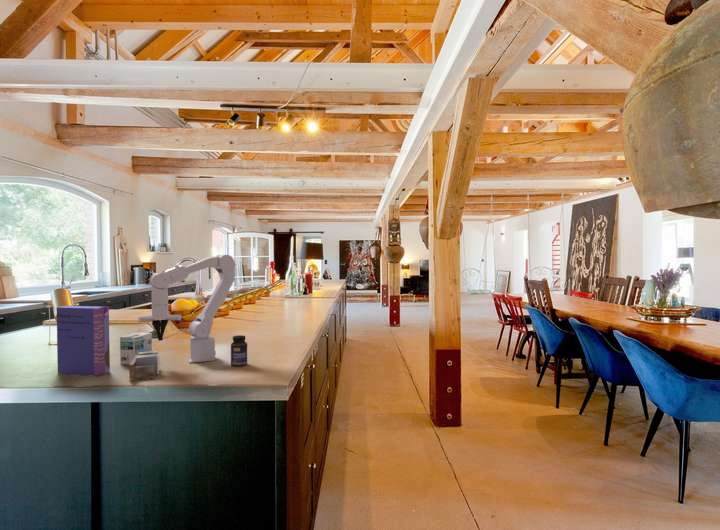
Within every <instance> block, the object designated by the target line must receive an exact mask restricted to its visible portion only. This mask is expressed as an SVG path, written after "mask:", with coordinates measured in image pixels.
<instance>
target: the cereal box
mask: <svg viewBox="0 0 720 530" xmlns="http://www.w3.org/2000/svg"><path fill="white" fill-rule="evenodd" d="M109 309H110V306H97V305H94V306H91V305H85V306H84V305H61V306H57V307H56V347H57V348H56V350H57V353H56V354H57V360H56V361H57V374H58V373H66V374H65V375H72V374H80V375H79V376H88V375H94V376H93V377H101V376H103V374H104V375H106V374H105V373H107V374H109V373H108V372H110V373H111V366H110V365H111V363H110V362H111V361H110V360H111V359H110V356H111V355H110V353H111V351H110V310H109ZM100 375H101V376H100Z"/></svg>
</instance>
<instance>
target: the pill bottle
mask: <svg viewBox="0 0 720 530" xmlns="http://www.w3.org/2000/svg"><path fill="white" fill-rule="evenodd" d="M232 341H233V342H231V344H230V366H231V367H233V366H241V367H244V365H245V366H247V365H248V342H246V336H245V335H233V336H232Z"/></svg>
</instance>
